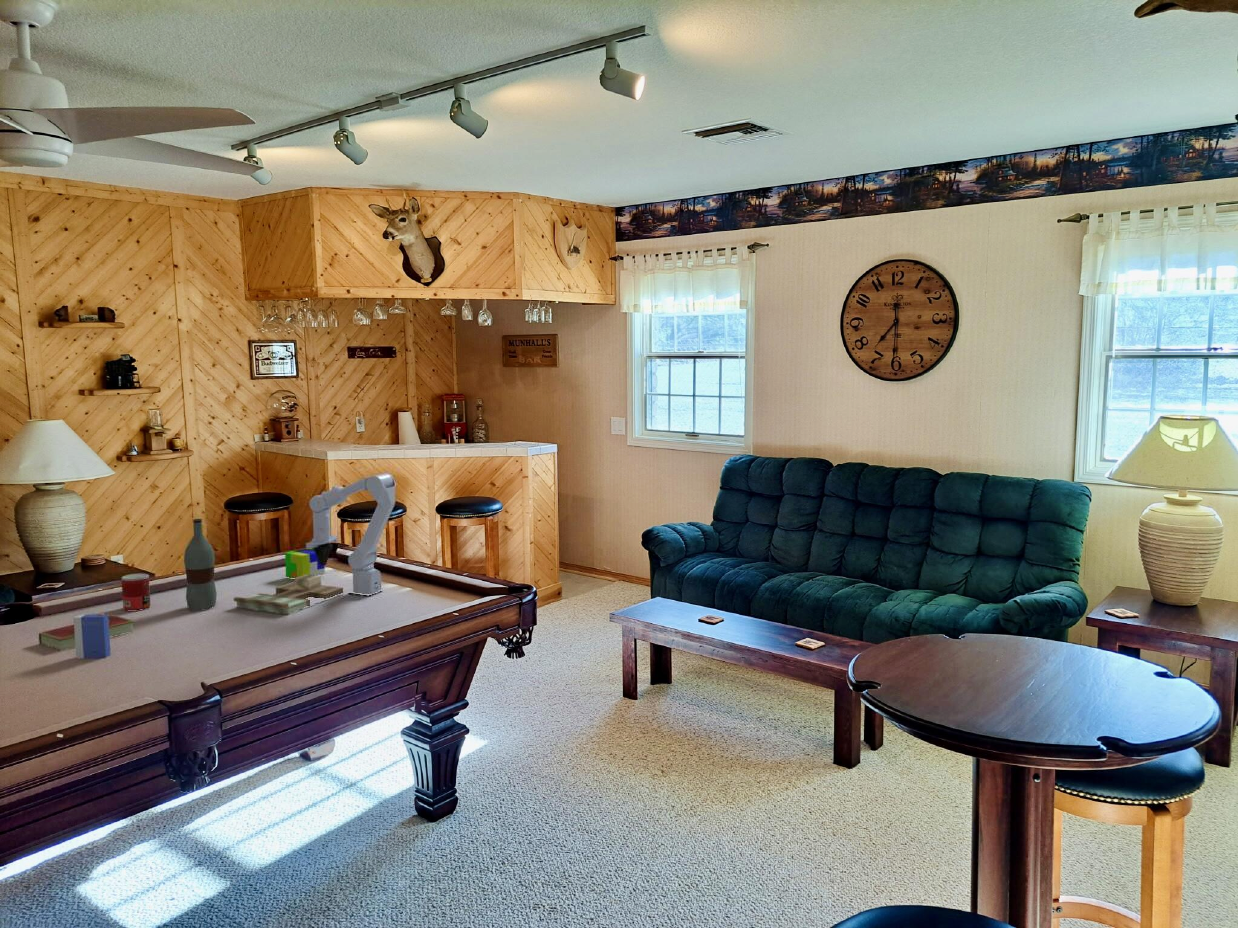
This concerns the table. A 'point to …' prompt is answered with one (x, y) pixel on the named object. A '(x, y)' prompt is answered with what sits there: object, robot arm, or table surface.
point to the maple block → (308, 582)
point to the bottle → (200, 571)
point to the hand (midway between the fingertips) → (323, 564)
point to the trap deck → (286, 598)
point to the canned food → (136, 591)
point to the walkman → (92, 636)
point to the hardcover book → (66, 635)
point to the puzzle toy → (302, 563)
